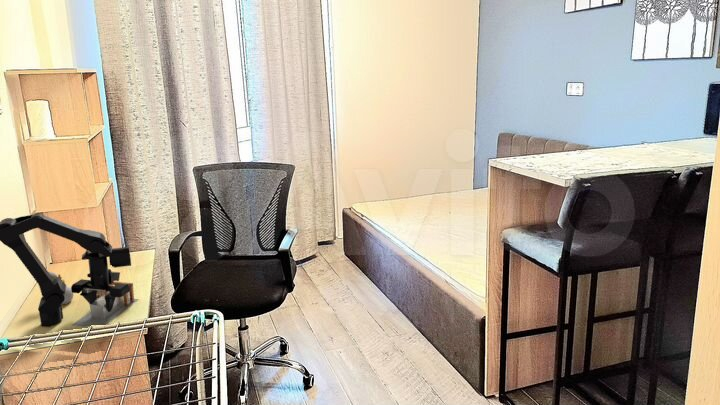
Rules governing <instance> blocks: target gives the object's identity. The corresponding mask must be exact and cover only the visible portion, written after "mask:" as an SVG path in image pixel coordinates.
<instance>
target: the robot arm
mask: <svg viewBox="0 0 720 405" xmlns="http://www.w3.org/2000/svg"><path fill="white" fill-rule="evenodd" d="M34 229H40V230H42V231H44V232H47V233H51V234H52V235H56V236H58V237H61V238H64V239H66V240H69V241H72V242H74V243H75V244H77V245H79V247H81V248H83V249H84V250H85V252H84V253H83V254H81V260H83V261H84V260H85V261H86V260H88V269H89V271H88V272H89V273H87V274H86V276H87V278H90V279H83V278H81V279H79V280H78V281H75V282H74V283H73V284H71V287H70V288H71V291H72V293H73V294H80V296H81V297H83V298H84V299H85V301H86V302H87V303H88V304H89V305H90V304H91V303H93V302H94V301H96V300H97V299H98V298H97V295H96V294H97V290H99V291H108V295H106V296H105V297H104V298H105V301H106V305H107V309H108V311H109V312H110V311H111V310H112V307H113V304H114V301H115V298H116V297H122V296H124V295H125V294H126V293H128V292H129V291H130V286H129V285H128V284H124V283H118V284H116V285H113V286H110V284H113V283H114V281H115V282H120V274H121V272H120V271H112V270H111V269H110V268H109V266H111V268H114V269H115V268H123V267H130V266H132V261H131V260H132V259H131V258H132V257H131V253H130V247H129V246H123V247H115V248H113V246H112V245H111V243H109V242H108V241H107V240H106V237H105V236H106V235H104V233H102V232H100V231H95V230H91V229H82V228H78V227H76V226H72V225H70V224H68V223H65V222H62V221H60V220H57V219H55V218H51V217H49V216H46V215H44V214H43V213H42V212H41V213H40V212H35V213H33V214H29V215H24V216H19V217H15V218H11V217H6V218H3V219H1V221H0V242H1V243H2V244H3V245H4V246H6V247H7V248H9V249H11V250H12V251H13V252H14V253H15V255H16V256H17V257H18V259H19V261H21V262H22V264H23V266H24V267H25V268H26V269H27V271H28V272H29V274H30V275H31V276H32V277H33V279H34V281H36V283H37V285H38V287H39V289H40V293H41V296H42V297H41V298H40V301H39V304H38V309H37V310H38V312H39V320H40V325H41V326H40V327H44V328H45V327H46V328H51V327H53V326H57V325H59V324H61V323H62V321H63V319H64V314H63V307H62V305H61V304H62V303H63V302H64V299H65V294H66V285H67V284H66V283H65V284H64V283H63V282H62V280H63V279H61V278H60V276H59V277H58V278H54V277H52V276H51V275H50V274H49V272H50V271H48V270H47V268H46V267H45V266H44V264H43V263H42V261H41V259H39V257H38V256H37V254H36V253H35V252H34V250H33V248H31V246H30V245H29V243H28V242H27V240H26V237H25V236H26V235H25V233H27V232H29V231H31V230H34ZM108 258H109V260H108ZM108 261H109V264H108Z"/></svg>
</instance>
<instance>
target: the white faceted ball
mask: <svg viewBox="0 0 720 405" xmlns="http://www.w3.org/2000/svg"><path fill="white" fill-rule="evenodd" d="M48 272H49V274H50V275H51V276H52V277H54V278H58V277H59V276H60V278H61V280H62V282H63V283H64V284H66V282H65V279H62V278H63V277H62V276H61V274H60V273H58V274H56V273H55V272H54V271H48ZM73 298H74V293H72V291H71V287H70V286H69V285H67V284H66V294H65V299H64V302H63V303H62V304H61V306H64V305H67V304H69V303H70V302H71V301H72V300H73Z"/></svg>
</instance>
